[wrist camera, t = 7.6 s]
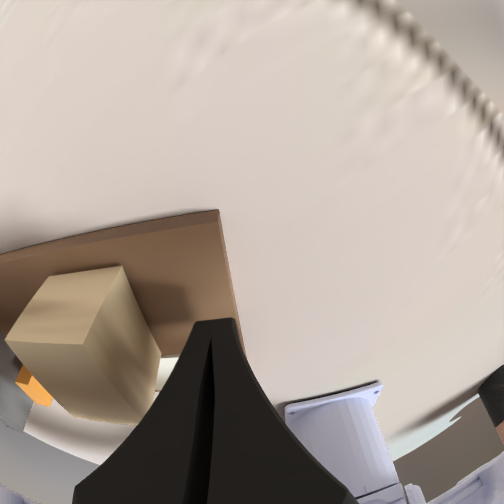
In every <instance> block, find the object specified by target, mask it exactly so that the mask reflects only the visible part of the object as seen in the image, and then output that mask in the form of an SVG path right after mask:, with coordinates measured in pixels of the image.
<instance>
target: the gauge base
mask: <svg viewBox="0 0 504 504" xmlns="http://www.w3.org/2000/svg"><path fill="white" fill-rule="evenodd" d="M116 266H122V267H123V269H124V272H125V275H126V277H127V280H128V282H129V284H130V287H131V289H132V292H133V294H134V296H135V299H136V301H137V303H138V306H139V308H140V310H141V312H142V315H143V317H144V319H145V321H146V323H147V325H148V327H149V330H150V332H151V334H152V336H153V338H154V340H155V342H156V344H157V346H158V348H159V350H160V352H161V358H160V363H159V369H158V375H157V381H156V387H155V392H160V391H161V389H162V388H163V386H164V384H165V383H166V381H167V379H168V377H169V376H170V374H171V372H172V370H173V368H174V366H175V364H176V362H177V360H178V358H179V356H180V354H181V352H182V350H183V348H184V346H185V344H186V342H187V339H188V337H189V335H190V332H191V330H192V328H193V325H194V323H195V322H196V321H203V320H212V319H221V318H229V317H232V318H234V319H235V320H236V325H237V329H238V334H239V339H240V343H241V346H242V349H243V352H244V354H245V356H246V353H245V348H244V343H243V338H242V333H241V328H240V323H239V318H238V312H237V307H236V302H235V297H234V291H233V286H232V281H231V275H230V270H229V264H228V259H227V253H226V247H225V242H224V236H223V230H222V224H221V218H220V212H219V210H212V211H206V212H199V213H193V214H187V215H181V216H175V217H169V218H163V219H157V220H152V221H146V222H141V223H135V224H130V225H125V226H120V227H115V228H110V229H105V230H100V231H95V232H91V233H86V234H81V235H77V236H72V237H68V238H64V239H59V240H55V241H51V242H47V243H43V244H39V245H35V246H31V247H27V248H23V249H19V250H15V251H12V252H8V253H4V254H1V255H0V421H2V422H3V423H4V424H5V425H6V426H7V427H10V428H12V429H14V430H16V431H18V432H21V433H22V432H23V430H24V426H25V423H26V420H27V417H28V415H29V412H30V409H31V406H32V404H33V400H32V399H31V398H30V397H29V396H28V395H27V394H26V393H25V392H24V391H23V390H22V389H21V388H20V387H19V386H18V385H17V384H16V383H15V380H16V378H17V376H18V374H19V372H20V370H21V368H22V366H23V364H22V362H21V361H20V360H19V359H18V357H17V356H16V355H15V353H14V352H13V351H12V350H11V348H10V347H9V345H8V344H7V343H6V341H5V338H6V337H7V335H8V333H9V332H10V330H11V329H12V327H13V325H14V324H15V322H16V321H17V319H18V318H19V316H20V315H21V313H22V312H23V311H24V309H25V308H26V306H27V305H28V303H29V302H30V301H31V299H32V298H33V296H34V295H35V294H36V292H37V291H38V290H39V288H40V287H41V286H42V285H43V283H44V282H45V281H46V279H47V278H48V277H49V276H55V275H61V274H68V273H75V272H82V271H89V270H96V269H103V268H110V267H116ZM246 359H247V357H246Z"/></svg>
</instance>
